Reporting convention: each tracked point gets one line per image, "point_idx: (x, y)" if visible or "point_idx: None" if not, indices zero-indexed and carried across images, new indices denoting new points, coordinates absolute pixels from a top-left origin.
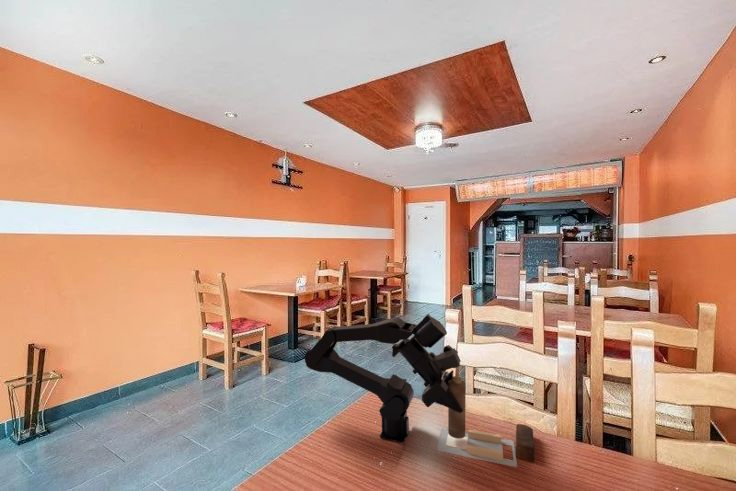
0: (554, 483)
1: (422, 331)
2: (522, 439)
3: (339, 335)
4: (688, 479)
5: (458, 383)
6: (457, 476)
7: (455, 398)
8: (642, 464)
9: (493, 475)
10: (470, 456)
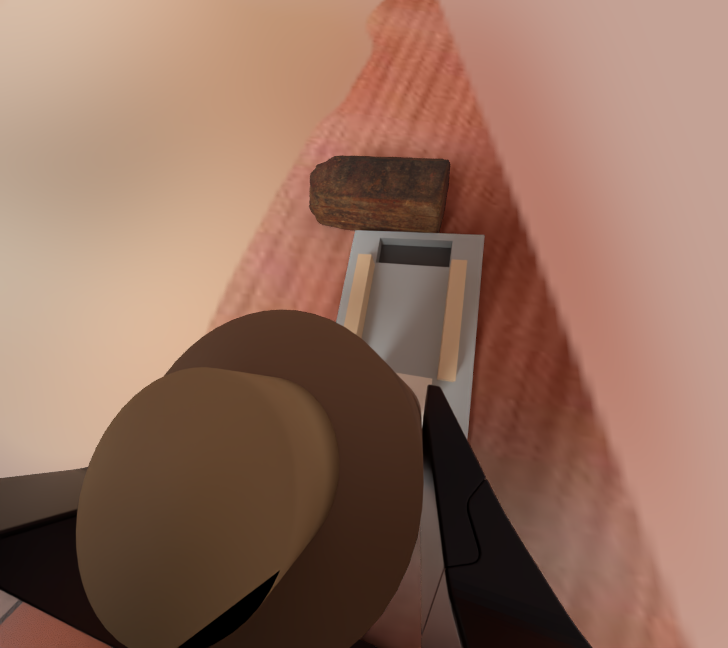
0: (499, 168)
1: None
2: (408, 183)
3: None
4: None
5: (328, 445)
6: (560, 427)
7: (441, 467)
8: (383, 21)
9: (515, 309)
10: (468, 370)
